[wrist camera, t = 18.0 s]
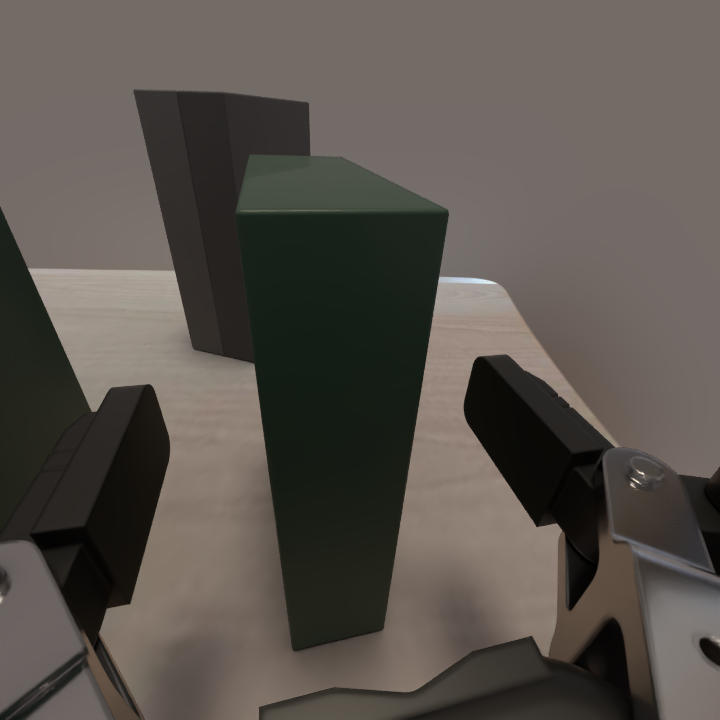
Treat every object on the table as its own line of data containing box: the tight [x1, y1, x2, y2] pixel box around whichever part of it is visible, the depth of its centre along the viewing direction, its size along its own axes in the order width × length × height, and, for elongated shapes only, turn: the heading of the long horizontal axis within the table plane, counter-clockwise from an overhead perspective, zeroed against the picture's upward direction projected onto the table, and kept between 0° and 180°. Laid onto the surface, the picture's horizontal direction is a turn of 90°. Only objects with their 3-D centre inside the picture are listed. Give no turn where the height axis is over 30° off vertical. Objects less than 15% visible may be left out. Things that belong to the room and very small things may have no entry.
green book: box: [235, 155, 449, 650], centre depth 13 cm, size 3×9×14 cm, turn 13°
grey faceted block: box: [134, 89, 310, 362], centre depth 28 cm, size 6×10×16 cm, turn 162°
